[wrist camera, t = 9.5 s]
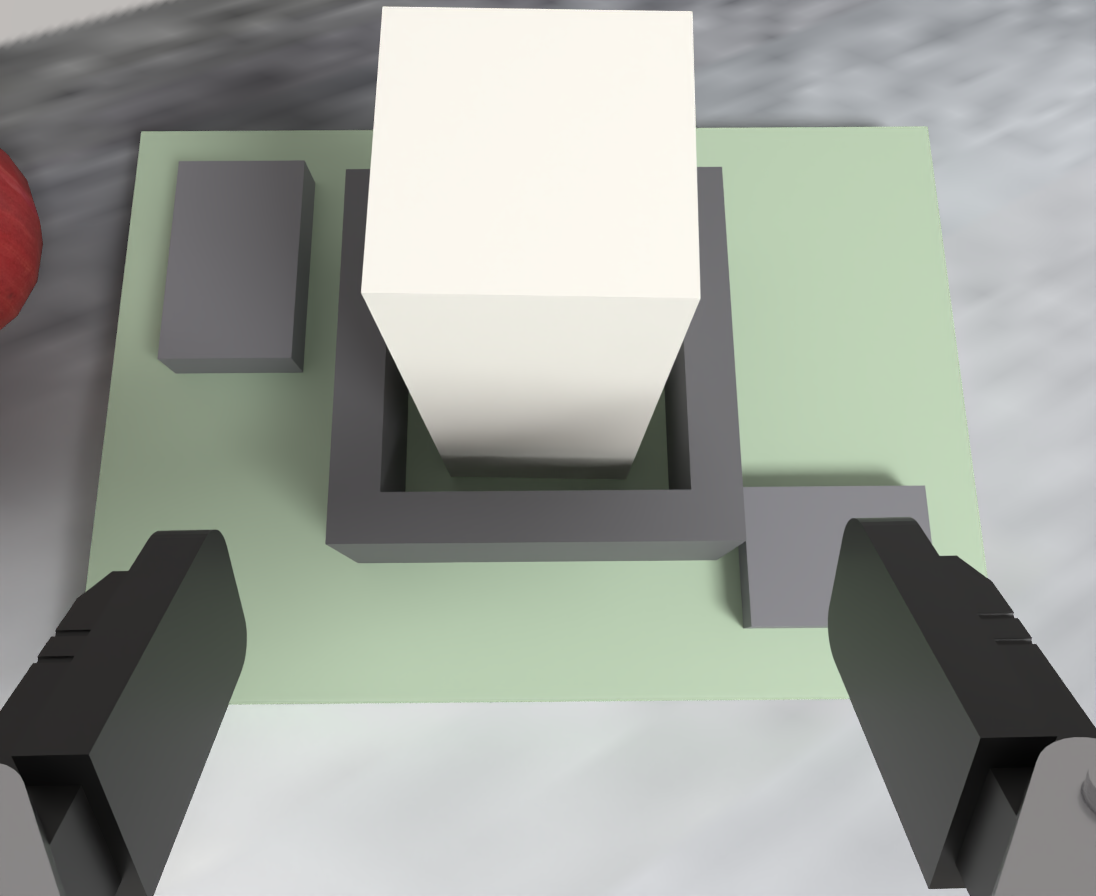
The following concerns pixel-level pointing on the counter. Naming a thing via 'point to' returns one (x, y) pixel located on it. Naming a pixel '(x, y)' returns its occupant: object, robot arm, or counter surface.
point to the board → (535, 503)
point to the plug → (534, 229)
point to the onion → (17, 240)
